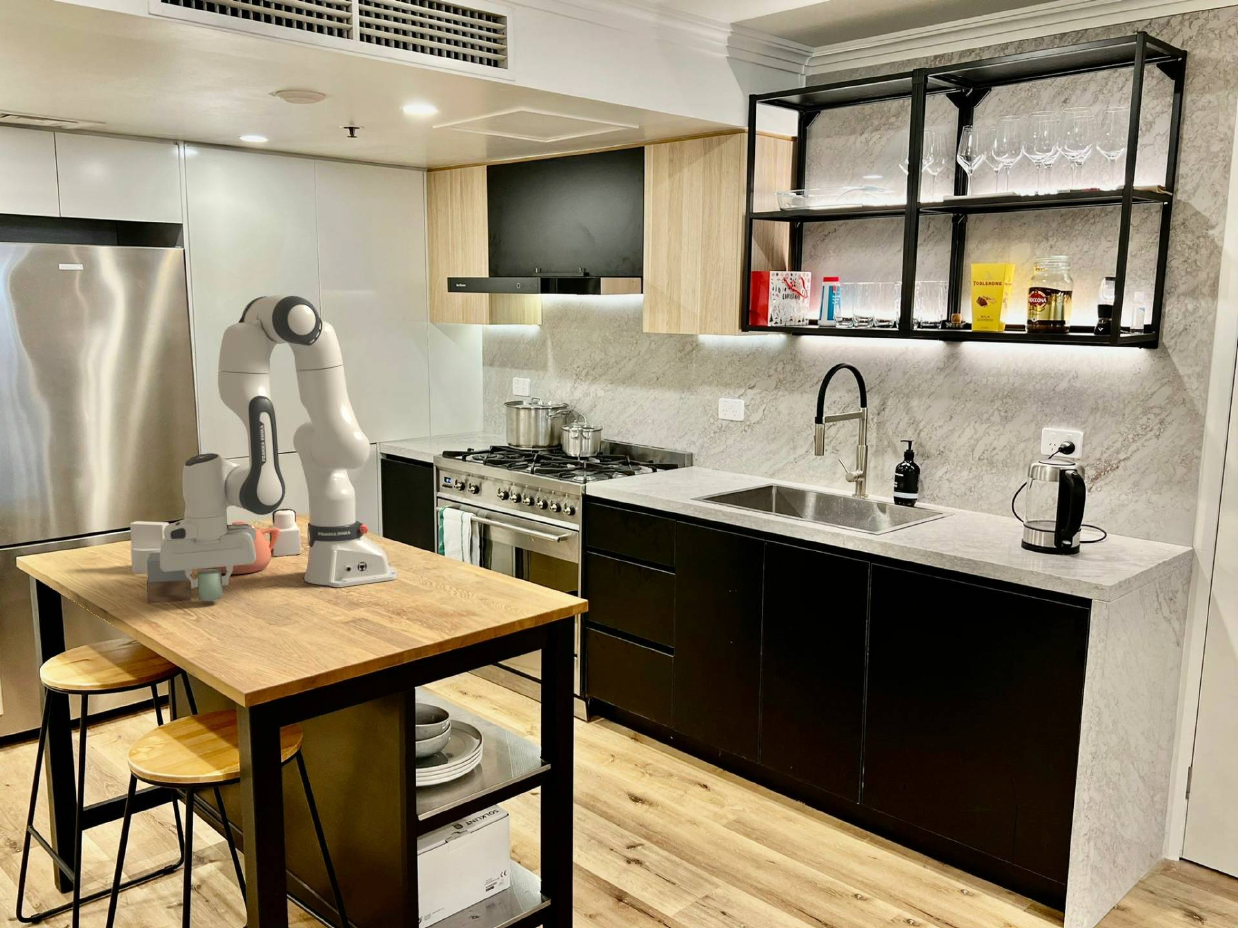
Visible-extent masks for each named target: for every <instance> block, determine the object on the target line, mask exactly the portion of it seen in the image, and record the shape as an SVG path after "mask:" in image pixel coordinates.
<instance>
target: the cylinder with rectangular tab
mask: <svg viewBox="0 0 1238 928" xmlns="http://www.w3.org/2000/svg"><path fill="white" fill-rule="evenodd" d="M167 525H170V523H169V522H164V521H163V522H162V521H160V522H159V521H143V520H141V521H139V520H136V521H133V522H130V523H129V527H130V544H131V545H130V546H131V547H130V556H131V571H132V573H133V574H138V575H148V571H147V560H148V558H149V555H150V553H158V552H160V550H161V544H162V541H163V539H164V538H165V537H164V529H165V527H166V526H167Z"/></svg>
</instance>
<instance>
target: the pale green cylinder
mask: <svg viewBox="0 0 1238 928" xmlns="http://www.w3.org/2000/svg"><path fill="white" fill-rule="evenodd" d="M196 575H197V579H198V588H197V589H198V600H199V601H203V602H211V601H217V600H220V599H223V586H222V573H221V570H219V569H212V568H206V569H202V570H199V571H197V573H196Z"/></svg>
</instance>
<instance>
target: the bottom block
mask: <svg viewBox="0 0 1238 928" xmlns="http://www.w3.org/2000/svg"><path fill="white" fill-rule="evenodd" d="M145 585H146V600H147V601H146V603H147V605H152V604H151V603H157V604H166V603H178V602H181V603H182V602H190V601H191V599H192V598H191V597H192V588H191V581H190V580H189V579H188V578H187V580H185V581H169V582H153V583H148V577H147V578H146V583H145ZM149 603H150V604H149Z"/></svg>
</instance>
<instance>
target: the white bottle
mask: <svg viewBox="0 0 1238 928" xmlns="http://www.w3.org/2000/svg"><path fill="white" fill-rule="evenodd" d="M271 515H272V525H270V526H269V527H268V528H270V527H277V528H279V530H280V535H279V538H278V540H277V542H276V544H275V545H274V547H273V548H272V550H271V556H272V557H274V556H278V557H288V556H287V555H290V556H297V555H296V554H300V555H301V554H302V553H301V529H300V527H298V525H297V517H296V516H297V513H296V511H295V510H294V509H291V508H280V509H278V508H277V509H276V510H274V511H273V512H271ZM271 539H272V533H271V532H269V543H270V542H271Z"/></svg>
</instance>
